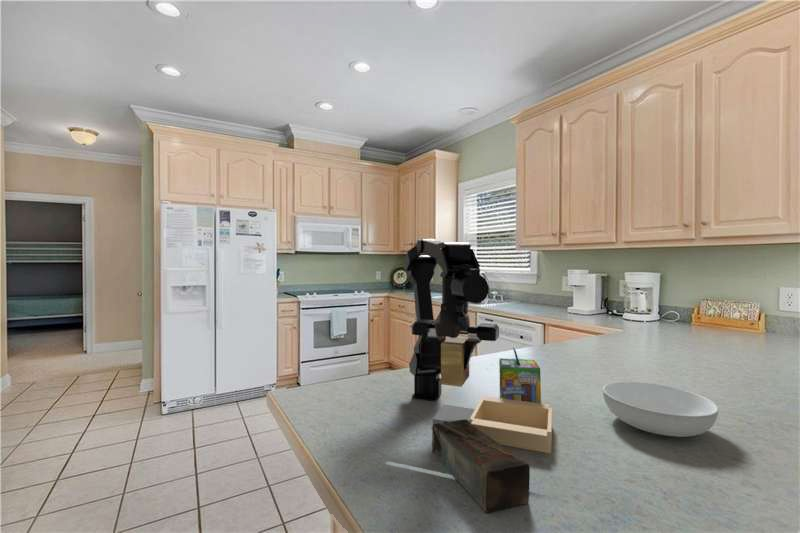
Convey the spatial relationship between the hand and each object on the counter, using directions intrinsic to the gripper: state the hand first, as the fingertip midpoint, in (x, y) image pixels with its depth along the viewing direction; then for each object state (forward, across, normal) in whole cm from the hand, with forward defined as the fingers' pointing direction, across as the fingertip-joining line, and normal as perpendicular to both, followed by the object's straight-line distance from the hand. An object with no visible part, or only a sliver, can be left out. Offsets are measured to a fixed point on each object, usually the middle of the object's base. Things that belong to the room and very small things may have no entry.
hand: (454, 367), depth 85 cm
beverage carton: (+13, +8, -19) cm, 24 cm away
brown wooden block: (+3, 0, +1) cm, 3 cm away
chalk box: (+13, +13, +14) cm, 23 cm away
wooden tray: (+13, +12, -1) cm, 18 cm away
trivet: (+13, 0, 0) cm, 13 cm away
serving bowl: (+13, +42, +15) cm, 46 cm away
